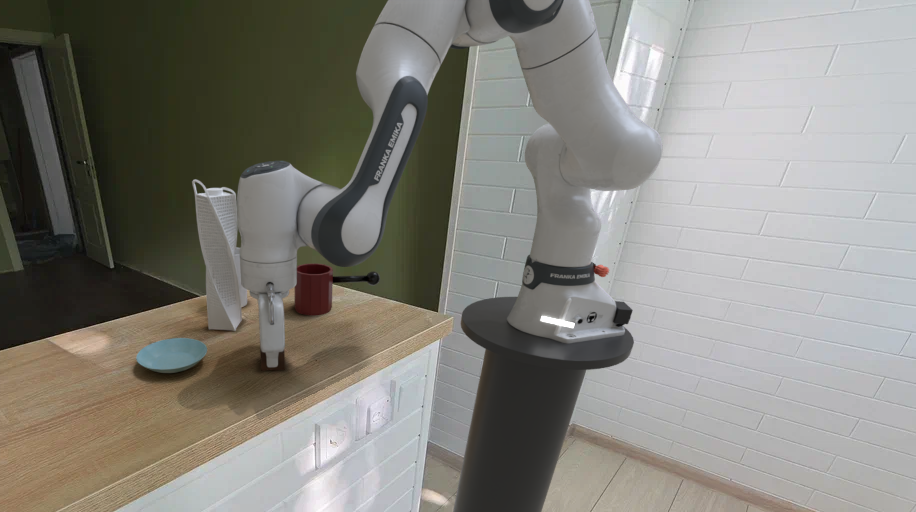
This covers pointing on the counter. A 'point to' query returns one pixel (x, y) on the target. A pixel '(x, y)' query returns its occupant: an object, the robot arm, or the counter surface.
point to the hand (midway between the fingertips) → (271, 352)
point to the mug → (242, 290)
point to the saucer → (172, 355)
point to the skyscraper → (219, 255)
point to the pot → (321, 287)
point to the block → (280, 362)
